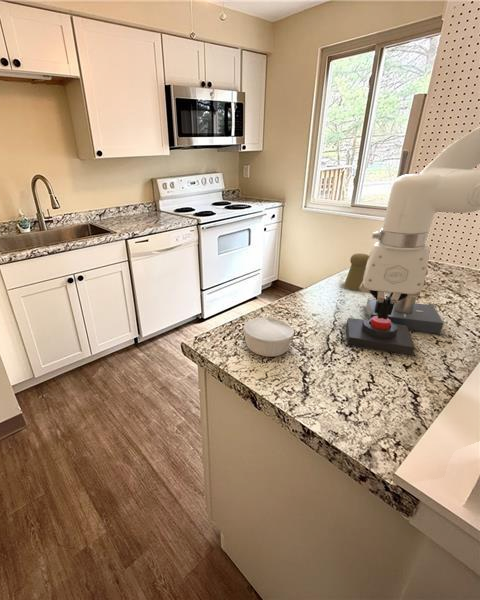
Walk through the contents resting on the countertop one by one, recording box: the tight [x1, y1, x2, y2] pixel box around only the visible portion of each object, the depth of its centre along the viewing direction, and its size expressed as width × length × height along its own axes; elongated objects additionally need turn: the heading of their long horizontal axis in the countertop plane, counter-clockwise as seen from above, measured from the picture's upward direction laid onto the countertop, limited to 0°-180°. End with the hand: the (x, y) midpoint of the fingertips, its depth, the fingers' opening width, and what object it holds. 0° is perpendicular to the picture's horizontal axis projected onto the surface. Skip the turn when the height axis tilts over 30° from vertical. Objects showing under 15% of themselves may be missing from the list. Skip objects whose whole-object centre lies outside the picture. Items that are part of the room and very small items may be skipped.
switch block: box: [345, 317, 416, 356], centre depth 73 cm, size 12×10×4 cm
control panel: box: [365, 298, 444, 335], centre depth 80 cm, size 14×10×3 cm
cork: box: [343, 253, 370, 292], centre depth 98 cm, size 6×6×11 cm
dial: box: [393, 296, 418, 313], centre depth 78 cm, size 4×4×5 cm
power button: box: [370, 316, 391, 329], centre depth 72 cm, size 4×4×2 cm
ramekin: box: [242, 316, 295, 358], centre depth 75 cm, size 11×11×5 cm
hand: (381, 316), depth 72 cm, fingers closed
